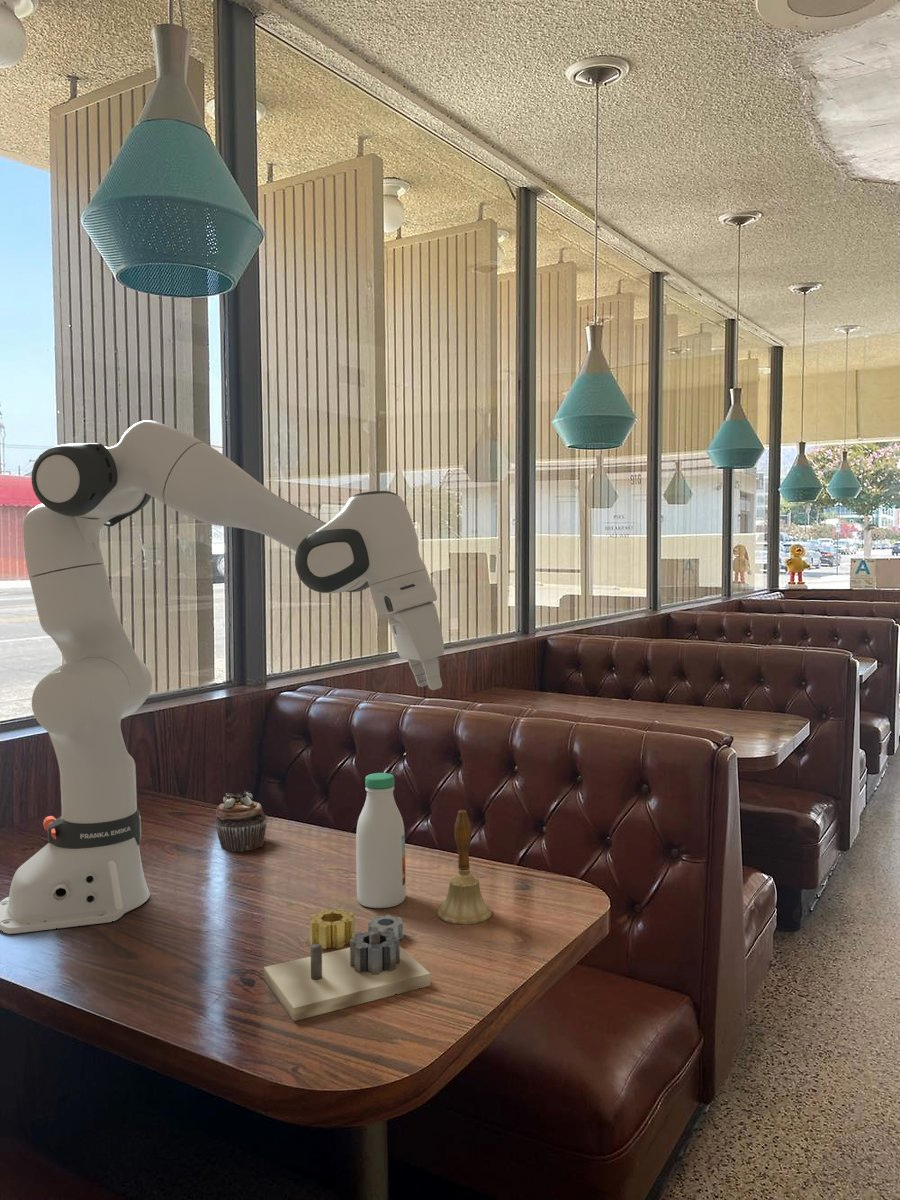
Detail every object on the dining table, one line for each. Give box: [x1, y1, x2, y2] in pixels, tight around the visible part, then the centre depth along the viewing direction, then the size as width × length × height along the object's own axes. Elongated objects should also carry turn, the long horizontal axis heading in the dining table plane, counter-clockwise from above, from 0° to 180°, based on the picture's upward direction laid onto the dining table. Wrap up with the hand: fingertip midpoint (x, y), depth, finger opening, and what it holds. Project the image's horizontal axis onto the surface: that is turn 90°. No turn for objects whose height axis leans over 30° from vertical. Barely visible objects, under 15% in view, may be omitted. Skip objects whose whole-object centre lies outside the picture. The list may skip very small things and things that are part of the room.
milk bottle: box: [355, 772, 407, 909], centre depth 142 cm, size 8×8×20 cm
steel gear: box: [349, 929, 401, 975], centre depth 117 cm, size 6×6×3 cm
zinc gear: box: [367, 914, 405, 940], centre depth 129 cm, size 5×5×2 cm
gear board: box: [263, 931, 431, 1022], centre depth 115 cm, size 18×12×6 cm, turn 118°
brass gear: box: [309, 908, 356, 950], centre depth 128 cm, size 6×6×3 cm
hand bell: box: [436, 809, 493, 926], centre depth 137 cm, size 8×8×16 cm
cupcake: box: [214, 789, 268, 852], centre depth 170 cm, size 10×10×10 cm
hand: (430, 687), depth 132 cm, fingers open, 8 cm apart
